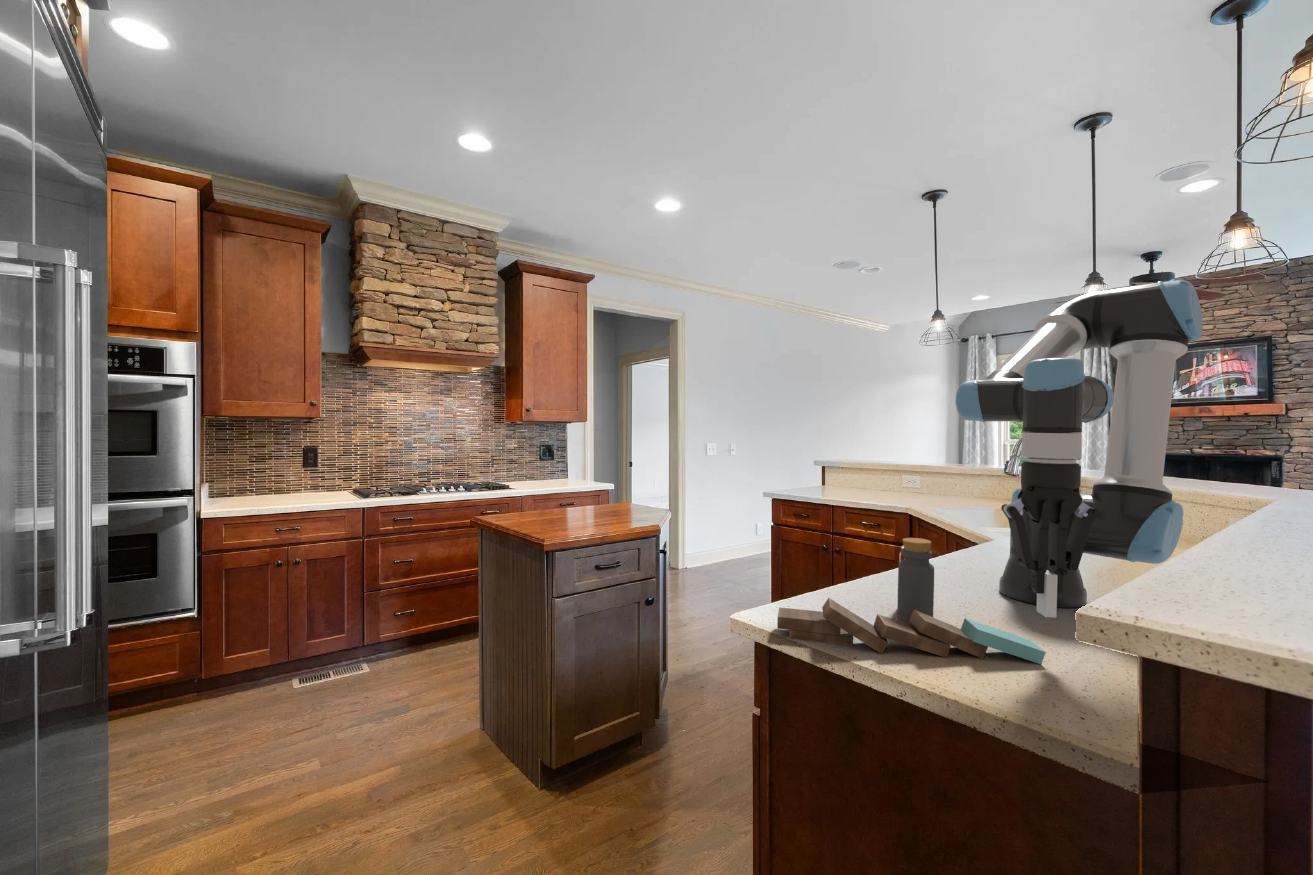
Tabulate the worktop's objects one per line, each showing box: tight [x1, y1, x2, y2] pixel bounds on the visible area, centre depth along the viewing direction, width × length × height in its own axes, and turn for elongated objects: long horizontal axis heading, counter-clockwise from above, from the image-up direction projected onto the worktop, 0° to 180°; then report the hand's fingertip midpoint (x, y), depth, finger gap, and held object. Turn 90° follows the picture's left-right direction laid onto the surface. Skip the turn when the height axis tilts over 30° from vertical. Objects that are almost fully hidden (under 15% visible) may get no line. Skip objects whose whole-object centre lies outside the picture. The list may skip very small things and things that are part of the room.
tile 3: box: [873, 613, 952, 659], centre depth 91 cm, size 2×5×10 cm
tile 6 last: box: [788, 628, 854, 646], centre depth 96 cm, size 2×5×10 cm
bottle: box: [896, 537, 935, 626], centre depth 102 cm, size 6×6×15 cm
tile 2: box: [909, 610, 989, 659], centre depth 90 cm, size 2×5×10 cm
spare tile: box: [960, 618, 1047, 665], centre depth 88 cm, size 2×5×10 cm
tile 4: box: [821, 597, 889, 654], centre depth 92 cm, size 2×5×10 cm
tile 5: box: [776, 607, 840, 635], centre depth 96 cm, size 2×5×10 cm
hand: (1046, 614), depth 88 cm, fingers closed
